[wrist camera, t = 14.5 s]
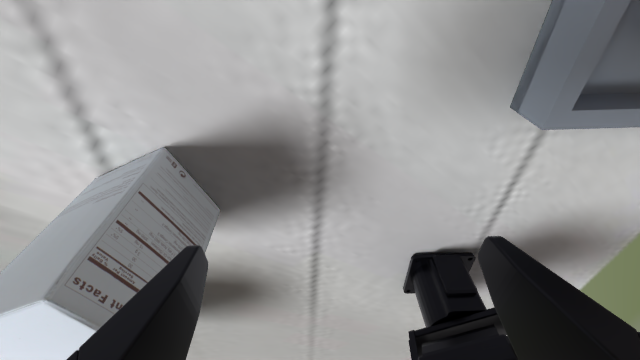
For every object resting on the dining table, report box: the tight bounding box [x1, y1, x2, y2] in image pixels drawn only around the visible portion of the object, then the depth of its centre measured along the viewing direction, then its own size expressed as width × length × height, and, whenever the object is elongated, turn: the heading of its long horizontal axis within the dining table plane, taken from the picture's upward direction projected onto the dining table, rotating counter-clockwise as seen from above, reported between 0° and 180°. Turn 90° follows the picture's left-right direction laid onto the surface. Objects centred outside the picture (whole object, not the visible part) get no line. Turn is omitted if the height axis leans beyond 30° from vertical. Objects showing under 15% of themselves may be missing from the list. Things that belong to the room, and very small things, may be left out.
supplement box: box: [0, 148, 220, 360], centre depth 19 cm, size 7×7×13 cm
